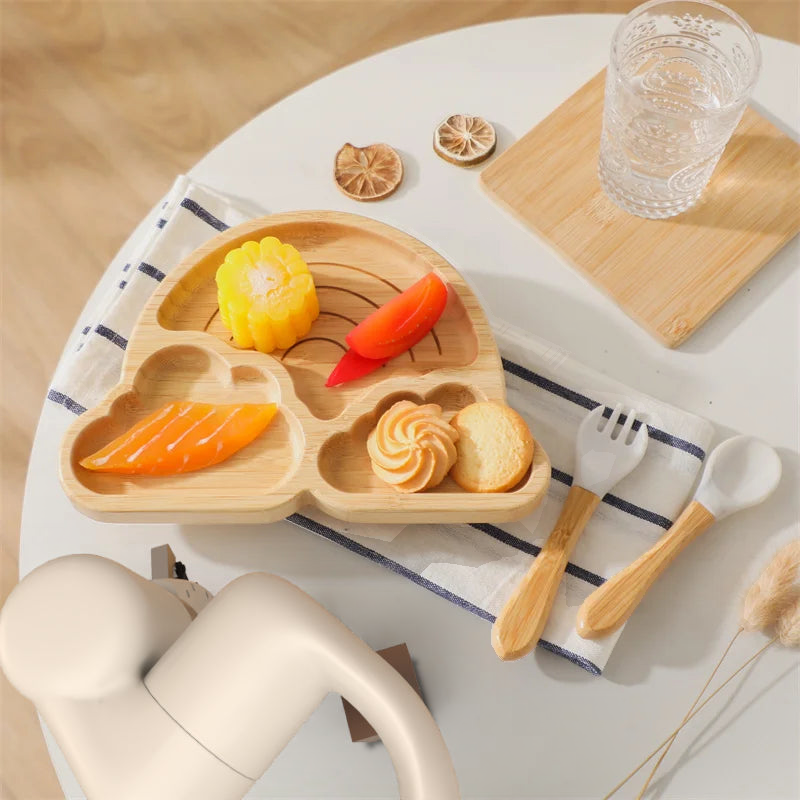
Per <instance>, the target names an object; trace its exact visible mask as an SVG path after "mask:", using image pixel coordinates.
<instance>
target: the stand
mask: <svg viewBox="0 0 800 800" xmlns="http://www.w3.org/2000/svg"><path fill="white" fill-rule="evenodd" d="M375 652H376V653H377V654H378V655H380V656H381V657H382V658H383V659H384V660H385V661H386V662H387V663H389V664H390V665H391V666H392V667H393V668H394V669H395V670H396V671H397V672H398V673H399V674H400V675H401V676H402V677H403V678H404V679H405V680H406V681H407V683H408V684H409V685H410V686H411V687H412V688H413V689H414V691H415V692H416V693H417V695H418V696H419V697H420V698H421V700H422V701H423V702H424V700H423V699H424V698H423V697H422V693H421V689H420V685H419V683H418V679H417V675H416V671H415V668H414V665H413V661H412V658H411V654H410V651H409V648H408V645H407V643H406V642H403V643H400V644H397V645H396V644H395V645H393V646H390V647H387V648H383V649H380V650H376V651H375ZM340 699H341V703H342V708H343V711H344V715H345V719H346V724H347V727H348V731H349V735H350V739H351V742H352V743H374V742H377V741H382V740H381V738H380V737H379V735H378V734H377V732H376V731H375V729H374V728H373V727H372V726H371V725H370V723H369V722H368V721H367V720H366V719H365V718H364V716H363V715H362V714H361V713H360V712H359V711H358V710H357V709H356V708H355V707H354V706H353V705H352V704H351V703H349V702H348V701H347V700H346V699H345V698H344V697H343V696H341V695H340Z"/></svg>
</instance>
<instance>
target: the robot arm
mask: <svg viewBox="0 0 800 800" xmlns="http://www.w3.org/2000/svg"><path fill="white" fill-rule="evenodd" d="M176 557H177V556H176V555H175V553H174V552H173V550H172V548H171V545H170V544H169V543H165V544H162V545H158V546H154V547H151V548H150V564H151V565H150V567H151V568H150V569H151V579H147V578H146V577H144V576H142V575H141V574H139V573H138V572H135V571H134V570H132V569H130V568H128V567H126V566H125V565H123V564H121V563H120V562H117V561H116V560H113V559H110V558H108V557H105V556H101V555H99V554H93V553H72V554H66V555H61V556H58V557H55V558H52V559H50V560H48V561H46V562H44V563H42V564H40V565H38V566H36V567H35V568H34V569H33V570H31V571H29V572H28V573H27V574H26V575H25V576H23V577H22V579H21V580H20V581H19V582H18V583H17V584H16V585H15V586H14V587H13V589H12V590H11V592H10V593H9V595H8V596H7V598H6V600H5V601H4V604H3V605H2V608H1V610H0V668H1V671H2V672H3V675H4V677H5V678H6V679H7V681H8V683H10V685H11V687H13V688H14V689H15V690H16V691H17V692H18V693H19V694H20V695H22V696H23V698H25V699H27V700H29V701H30V702H31V703H32V704H33V706H34V707H35V709H36V711H37V712H38V713H39V715H40V717H41V719H42V721H43V722H44V724H45V726H46V728H47V729H48V732H49V733H50V735H51V736H52V738H53V740H54V742H55V743H56V745H57V747H58V749H59V750H60V752H61V754H62V755H63V757H64V760H65V761H66V764H67V765H68V767H69V769H70V771H71V772H72V774H73V777H74V778H75V780H76V782H77V783H78V786H79V787H80V790H81V791H82V793H83V794H84V797H85V798H86V800H243V799H244V798H245V796H246V795H247V794H248V793H249V791H250V790H251V789H252V787H253V786H254V785H255V784H256V783H257V782H258V781H259V780H261V778H262V777H263V775H264V774H265V773H266V772H267V770H268V769H269V768H270V766H272V764H273V763H274V762H275V761H276V759H277V758H278V757H279V755H281V753H282V752H283V751H284V750H285V748H286V747H287V746H288V744H289V743H290V742H291V741H292V739H293V738H294V737H295V735H297V733H298V732H299V730H300V729H301V728H302V727H303V725H304V724H305V723H306V722H307V721H308V720H309V719H310V717H311V716H312V715H313V714H314V712H315V711H316V710H317V709H318V707H319V706H320V705H321V704H322V703H323V701H324V699H325V698H326V697H327V696H328V694H330V693H336V694H339V696H340V697H341V696H343V697H344V698H345V699H346V700H347V701H348V702H349V703H351V704H352V705H353V706H354V707H355V708H356V709H357V710H358V711H359V712H360V713H361V714H362V715H363V716H364V718H365V719H366V720H367V721H368V722H369V723H370V725H371V726H372V727H373V728H374V729H375V731H376V732H377V734H378V735H379V737H380V738H381V740H380V741H381V742H382V743H383V744H382V745H384V747H385V749H386V751H387V753H388V756H389V758H390V760H391V763H392V766H393V769H394V773H395V777H396V782H397V787H398V794H399V800H463V799H462V795H461V790H460V785H459V780H458V777H457V773H456V770H455V767H454V762H453V760H452V756H451V753H450V751H449V748H448V746H447V744H446V741H445V738H444V736H443V734H442V732H441V730H440V728H439V726H438V724H437V722H436V720H435V719H434V717H433V715H432V713H431V712H430V710H429V709H428V707H427V705H425V704H426V703H424V700H423V701H422V700H421V698H420V697H419V696H418V695H417V693H416V692H415V691H414V689H413V688H412V687H411V686H410V685H409V684H408V683H407V681H406V680H405V679H404V678H403V677H402V676H401V675H400V674H399V673H398V672H397V671H396V670H395V669H394V668H393V667H392V666H391V665H390V664H389V663H387V662H386V661H385V660H384V659H383V658H382V657H381V656H380V655H378V654H377V653H376V651H375V650H374V649H373V648H371V646H369V645H368V644H367V643H366V642H365V641H363V640H362V639H361V638H360V637H359V636H358V635H357V634H356V633H354V631H352V630H351V629H350V628H349V627H347V625H345V624H344V623H343V622H342V621H341V620H339V619H338V618H337V617H336V616H335V615H334V614H332V612H331V611H329V610H328V609H327V608H326V607H325V606H323V605H322V604H321V603H320V602H319V601H317V600H316V599H315V598H313V597H312V595H310V594H308V593H307V592H306V591H305V590H303V589H302V588H301V587H299V586H297V584H295V583H293V582H291V581H289V580H288V579H286V578H283V577H282V576H279V575H276V574H275V573H270V572H265V571H254V572H248V573H245V574H242V575H240V576H237V577H236V578H234V579H233V580H231V581H230V582H228V583H227V584H226V585H225V586H223V587H222V588H221V589H220V590H219V591H218V592H217V593H216V594H215V595H213V594H212V593H211V591H209V590H208V589H207V588H206V587H205V586H202V585H201V584H199V583H198V581H195V582H194V581H192V580H190V579H189V577H188V574H187V568H186V565H185V563H183V562H182V561H181V560H179V561H177V558H176Z"/></svg>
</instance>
